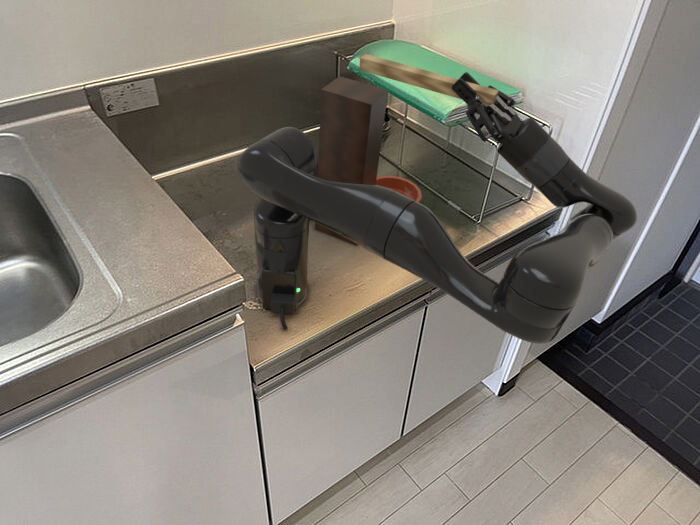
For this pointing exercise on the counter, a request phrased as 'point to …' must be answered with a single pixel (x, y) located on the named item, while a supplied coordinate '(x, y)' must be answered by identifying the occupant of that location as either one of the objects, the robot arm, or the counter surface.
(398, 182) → the bowl
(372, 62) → the stick
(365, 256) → the counter surface
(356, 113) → the stand
